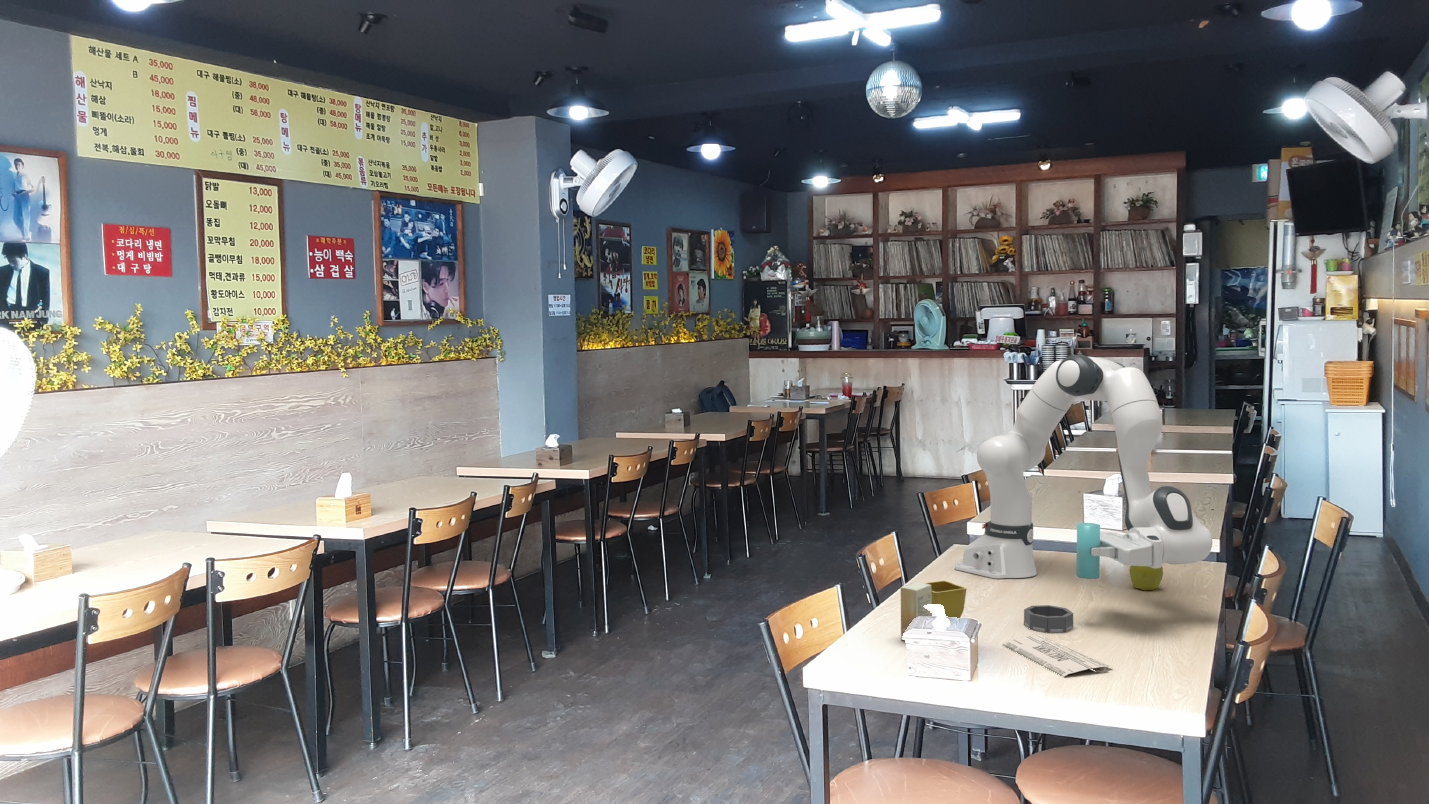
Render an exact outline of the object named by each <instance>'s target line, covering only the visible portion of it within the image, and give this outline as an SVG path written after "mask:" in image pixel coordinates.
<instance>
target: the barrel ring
mask: <svg viewBox="0 0 1429 804" xmlns="http://www.w3.org/2000/svg"><path fill="white" fill-rule="evenodd" d="M1024 624H1025V625H1024ZM1023 625H1024V626H1025V627H1026V628H1027V627H1028V628H1027V629H1029V628H1030V629H1032V630H1031V631H1035V630H1036V632H1039V631H1042V632H1041V633H1046V632H1052V633H1051V634H1061V633H1068V632H1069V631H1072V630H1073V629H1074V612H1072V611H1071V610H1069V609H1068V608H1066V607H1063V606H1062V607H1060V606H1055V605H1048V604H1046V605H1045V604H1044V605H1030V606H1029V607H1026V608H1025V609H1024V610H1023ZM1072 628H1073V629H1072ZM1030 629H1029V630H1030ZM1067 631H1068V632H1067ZM1053 632H1054V633H1053Z"/></svg>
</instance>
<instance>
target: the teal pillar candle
mask: <svg viewBox="0 0 1429 804" xmlns="http://www.w3.org/2000/svg"><path fill="white" fill-rule="evenodd" d="M1100 532H1101V525H1100V524H1098V523H1093V522H1079V523H1077V524H1076V564H1075V566H1076V569H1075V570H1076V576H1075V577H1077V578H1080V579H1084V580H1085V579H1086V580H1096V579H1099V578H1100V565H1101V564H1100V563H1101V562H1100V561H1101V559H1100V557H1101V556H1092V555H1091V554H1090V547H1098V548H1100Z"/></svg>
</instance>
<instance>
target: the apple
mask: <svg viewBox="0 0 1429 804" xmlns="http://www.w3.org/2000/svg"><path fill="white" fill-rule="evenodd" d="M1129 574H1130V576H1129V578H1130V581H1131V584H1132V585H1133V587H1134V588H1136V589H1139V590H1142V591H1148V590H1149V591H1151V590H1152V591H1153V590H1156V589H1158V588H1159V586H1160V585H1161V582H1162V580H1163V575H1164V569H1163V564H1161V568H1151V567H1148V566H1130V565H1129Z"/></svg>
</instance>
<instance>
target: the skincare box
mask: <svg viewBox="0 0 1429 804" xmlns="http://www.w3.org/2000/svg"><path fill="white" fill-rule="evenodd" d="M924 583H925V582H919V581H914V582H911V583H908V584H905V585H902V586H901V587H900V639H901V638H902V636H903V633H904V632H905V630H906V629H907V627H908V626H909V624H910V623H911V622H912V620H913V619H914V618H916V617H918V616H932V613H930V611H928V610H927V609H925V608H924V607H923V606H924V605H927V604H932V592H931V585H929V584H924Z"/></svg>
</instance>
